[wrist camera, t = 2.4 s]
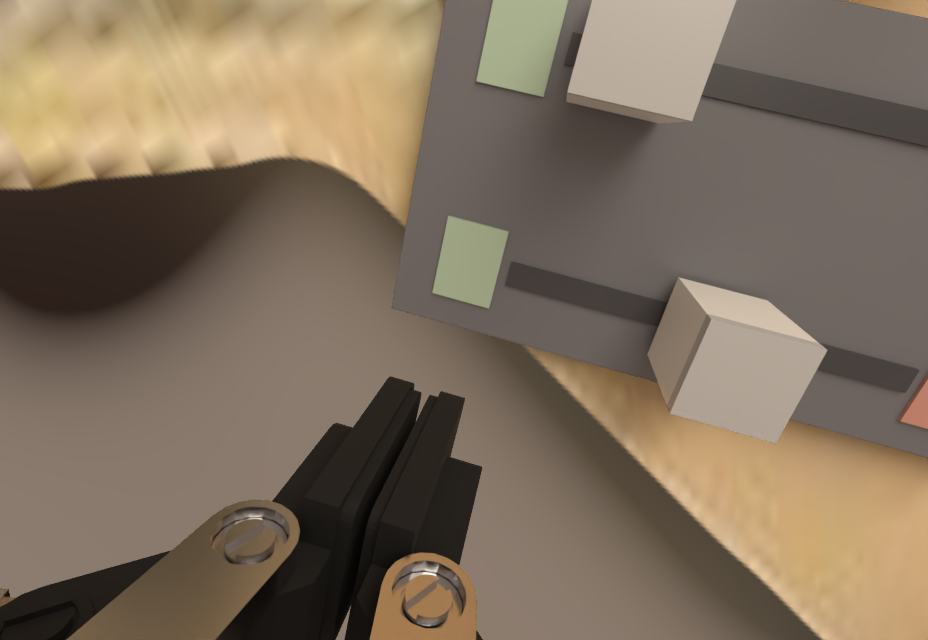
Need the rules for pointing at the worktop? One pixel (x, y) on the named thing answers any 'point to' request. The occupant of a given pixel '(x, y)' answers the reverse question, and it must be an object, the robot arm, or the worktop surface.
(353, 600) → the robot arm
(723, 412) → the beige slider knob
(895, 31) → the panel
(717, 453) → the worktop surface
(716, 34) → the on switch
